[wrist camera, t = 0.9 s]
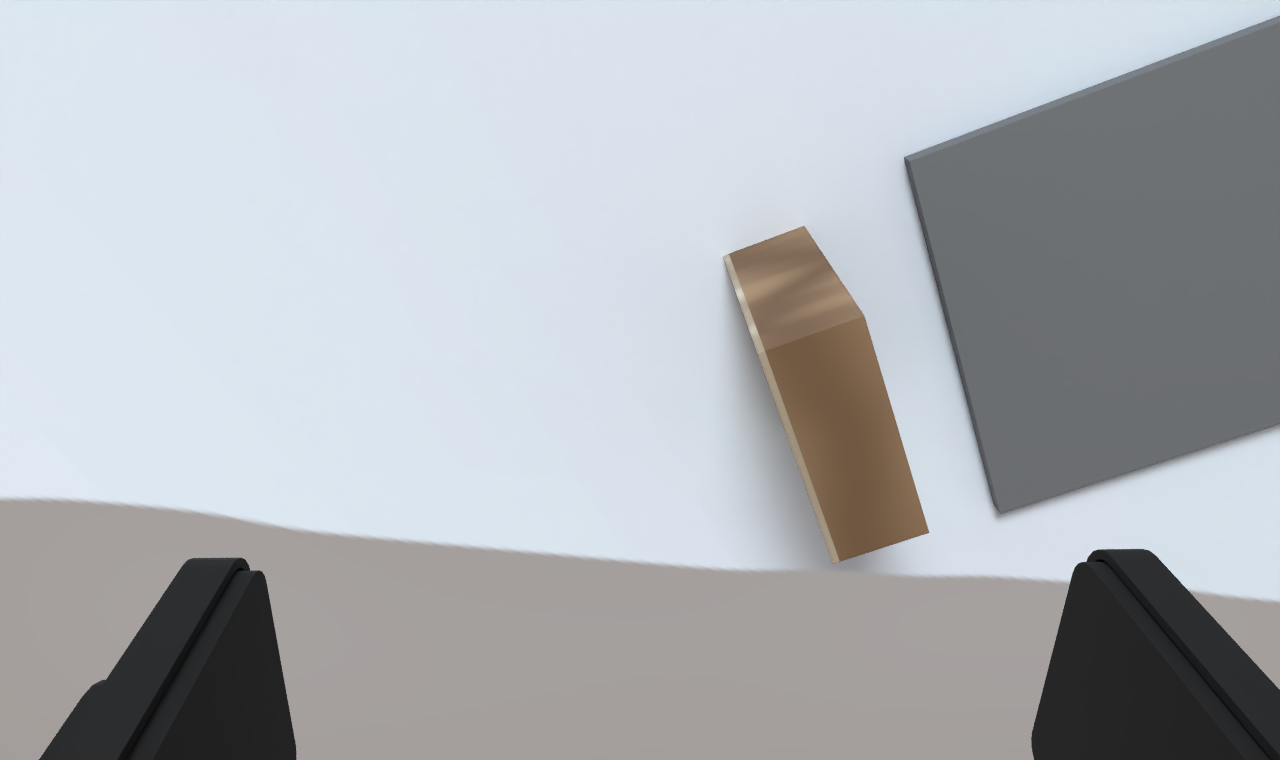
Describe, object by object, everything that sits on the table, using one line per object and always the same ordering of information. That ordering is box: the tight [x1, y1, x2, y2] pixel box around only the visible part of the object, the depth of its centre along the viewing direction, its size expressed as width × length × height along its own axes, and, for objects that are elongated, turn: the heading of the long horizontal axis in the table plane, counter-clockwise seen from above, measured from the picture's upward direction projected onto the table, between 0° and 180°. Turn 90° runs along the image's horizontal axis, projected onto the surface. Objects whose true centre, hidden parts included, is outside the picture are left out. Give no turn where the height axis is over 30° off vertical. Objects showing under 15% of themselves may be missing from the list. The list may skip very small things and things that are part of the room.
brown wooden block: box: [723, 226, 929, 564], centre depth 29 cm, size 3×7×8 cm, turn 21°
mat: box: [904, 16, 1280, 514], centre depth 31 cm, size 18×14×1 cm
